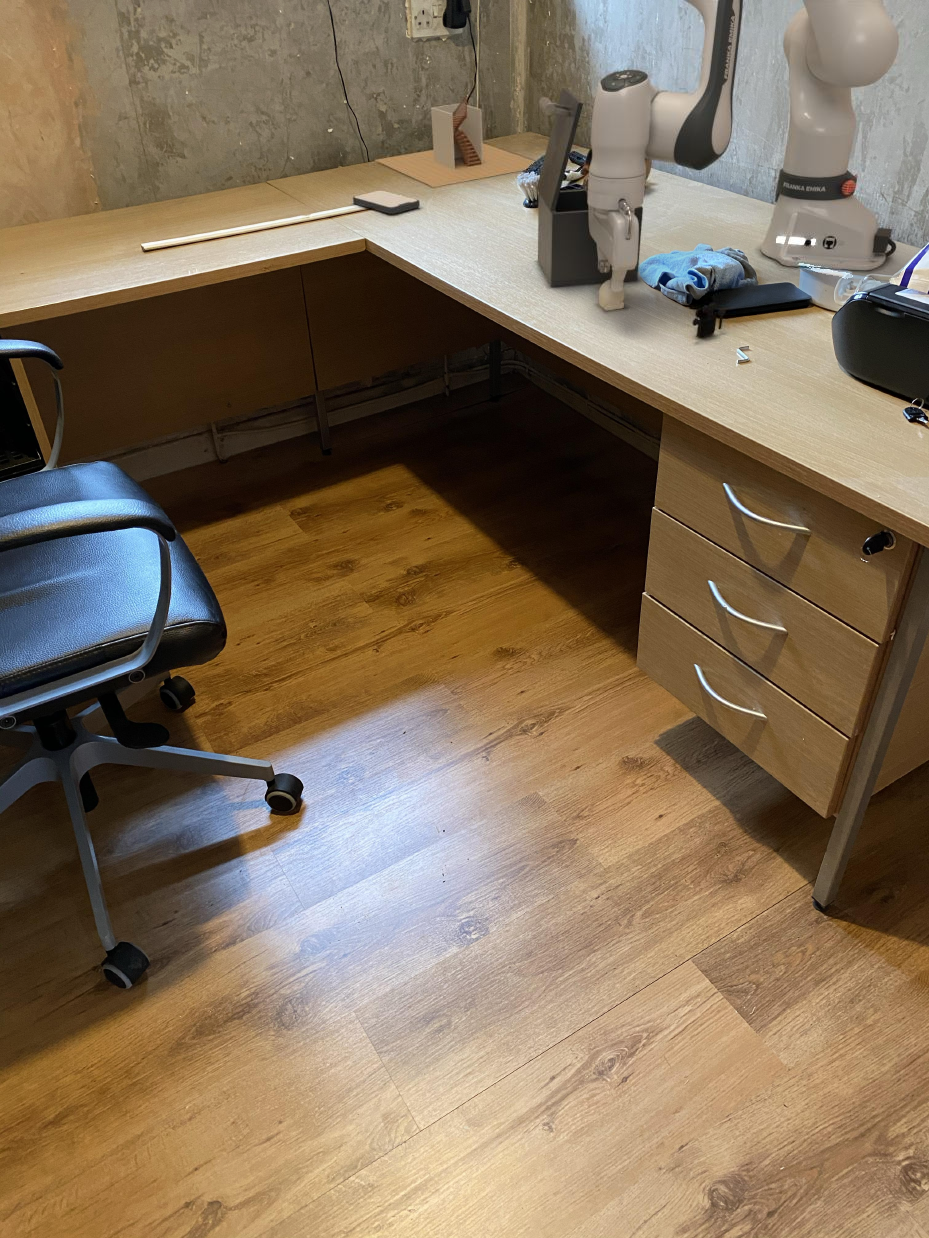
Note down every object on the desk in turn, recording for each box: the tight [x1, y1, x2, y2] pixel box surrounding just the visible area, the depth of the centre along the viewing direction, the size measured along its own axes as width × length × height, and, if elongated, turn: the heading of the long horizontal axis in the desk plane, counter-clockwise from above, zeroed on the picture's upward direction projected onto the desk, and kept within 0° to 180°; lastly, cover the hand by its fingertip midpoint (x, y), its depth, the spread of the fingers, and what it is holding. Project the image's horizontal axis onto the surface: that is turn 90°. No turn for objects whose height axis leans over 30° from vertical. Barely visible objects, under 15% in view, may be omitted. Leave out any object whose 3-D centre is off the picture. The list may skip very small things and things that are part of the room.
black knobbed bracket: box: [692, 302, 726, 339], centre depth 141 cm, size 7×2×5 cm, turn 125°
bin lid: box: [536, 87, 584, 212], centre depth 154 cm, size 17×14×5 cm
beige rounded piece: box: [598, 280, 626, 311], centre depth 153 cm, size 4×4×4 cm
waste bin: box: [537, 188, 644, 288], centre depth 164 cm, size 16×14×12 cm
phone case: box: [352, 190, 421, 215], centre depth 208 cm, size 9×2×16 cm
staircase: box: [430, 92, 485, 170], centre depth 232 cm, size 9×11×17 cm
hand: (609, 280), depth 151 cm, fingers open, 8 cm apart
